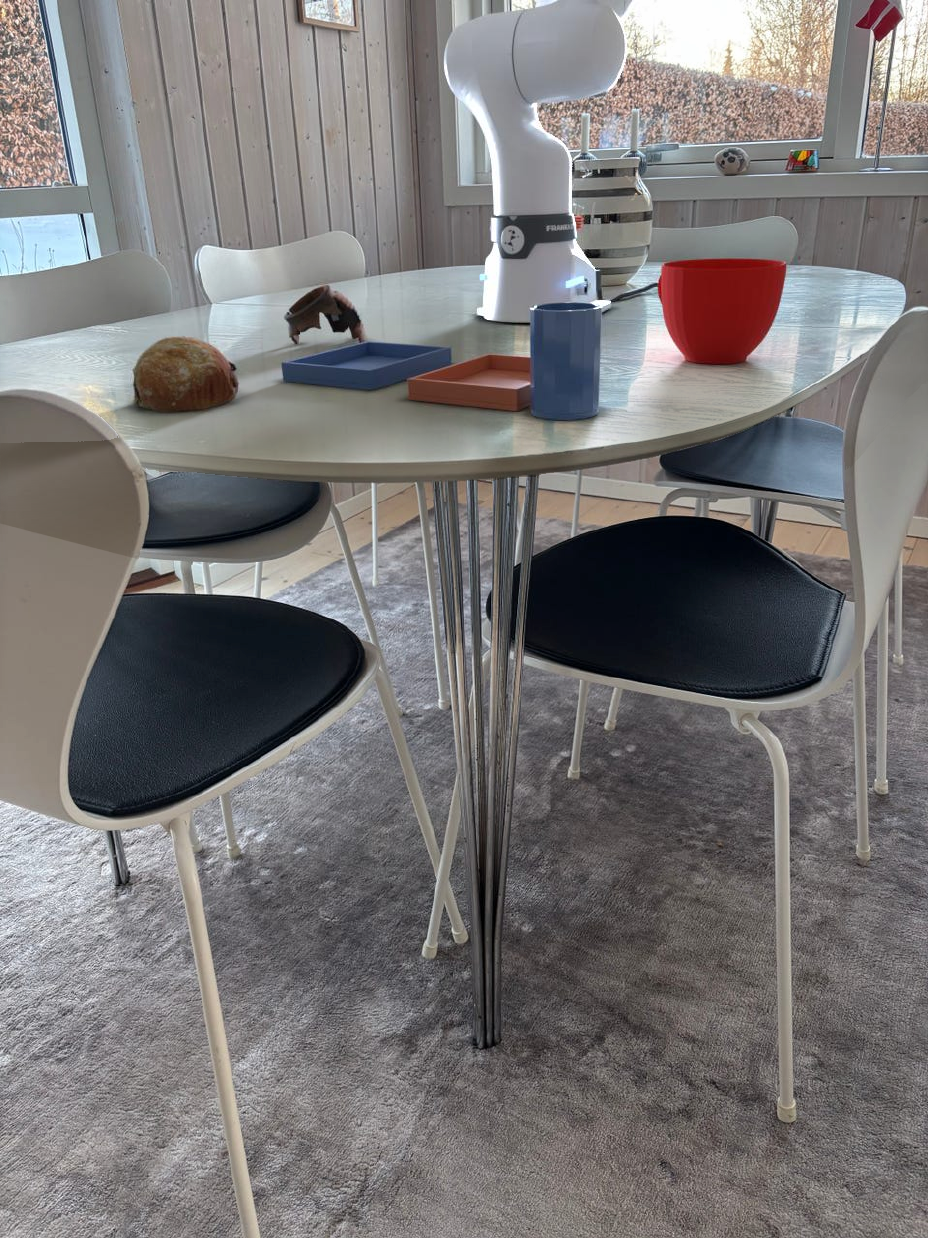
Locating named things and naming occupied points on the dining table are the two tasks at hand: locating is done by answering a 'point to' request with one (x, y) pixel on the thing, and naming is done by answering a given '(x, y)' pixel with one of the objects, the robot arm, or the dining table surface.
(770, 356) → the dining table surface
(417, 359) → the blue tray
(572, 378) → the blue tumbler
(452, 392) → the terracotta tray
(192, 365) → the bread roll
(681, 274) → the ceramic cup
